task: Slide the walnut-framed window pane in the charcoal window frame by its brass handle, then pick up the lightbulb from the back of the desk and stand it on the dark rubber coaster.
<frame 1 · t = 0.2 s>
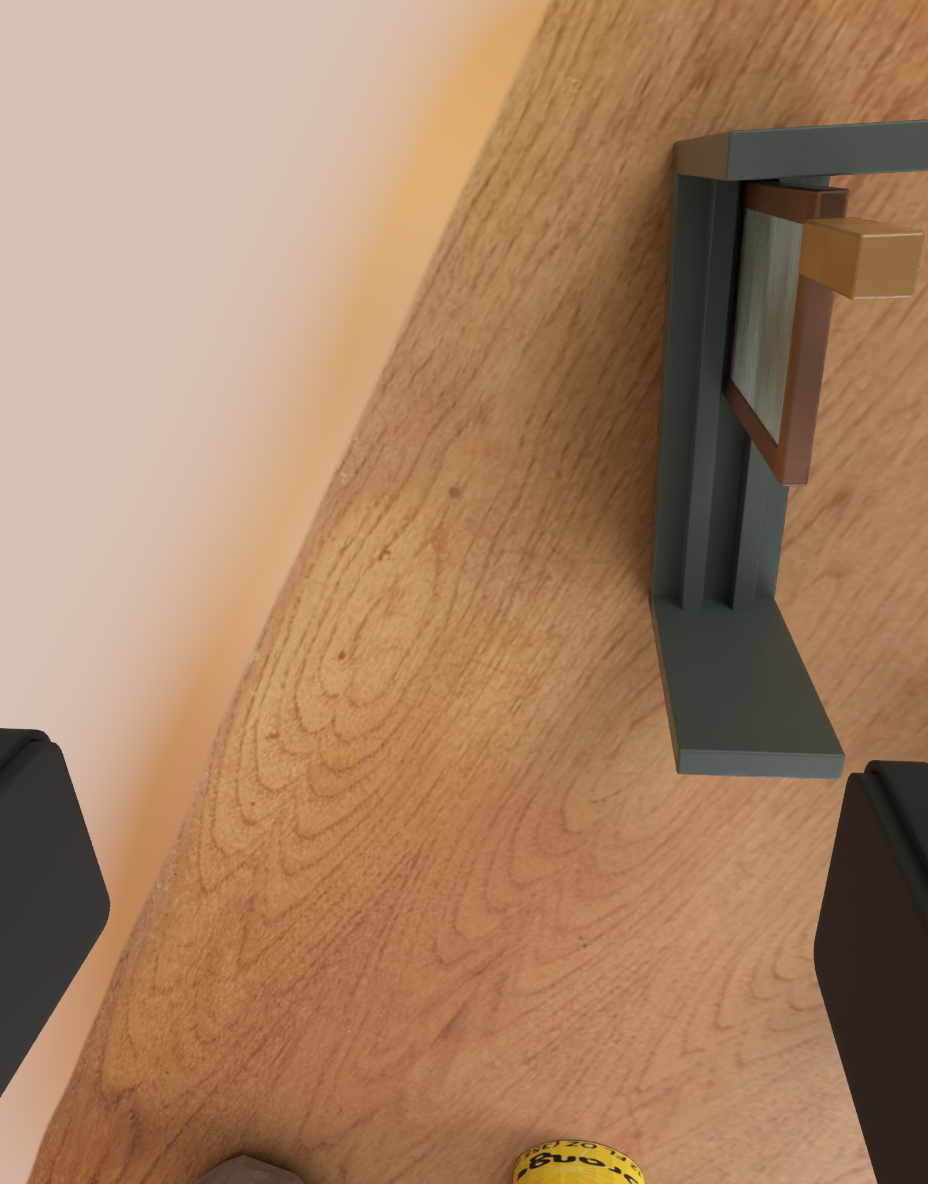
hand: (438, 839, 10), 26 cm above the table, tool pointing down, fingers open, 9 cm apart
window frame: (724, 398, 33), on the table
beverage can: (578, 1176, 58), on the table
window sash: (787, 330, 23), point 9 cm above the table, slide at 0.0 cm
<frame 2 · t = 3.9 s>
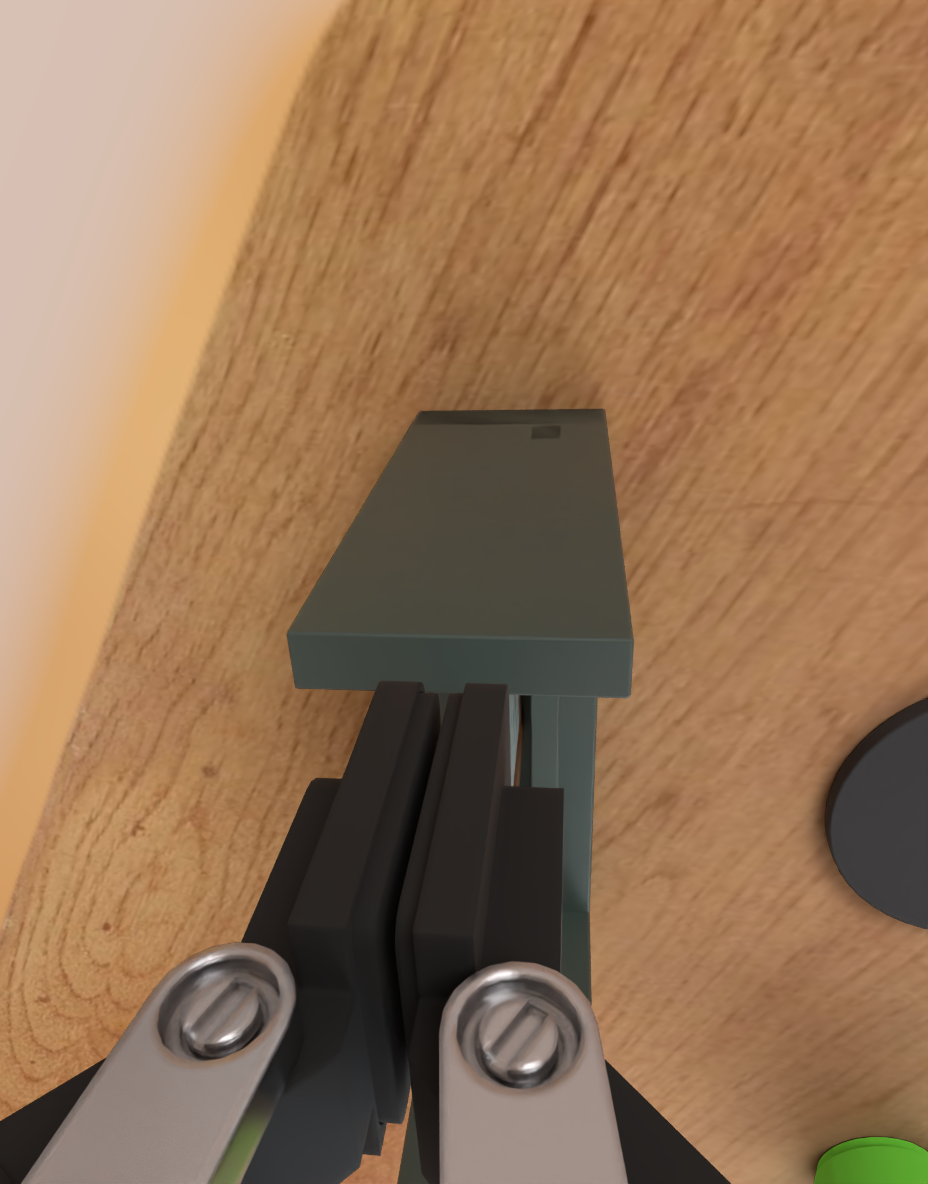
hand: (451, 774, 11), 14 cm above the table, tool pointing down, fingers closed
window frame: (515, 690, 27), on the table
window sash: (487, 800, 17), point 9 cm above the table, slide at 0.9 cm, touching gripper
cup: (874, 1166, 36), on the table
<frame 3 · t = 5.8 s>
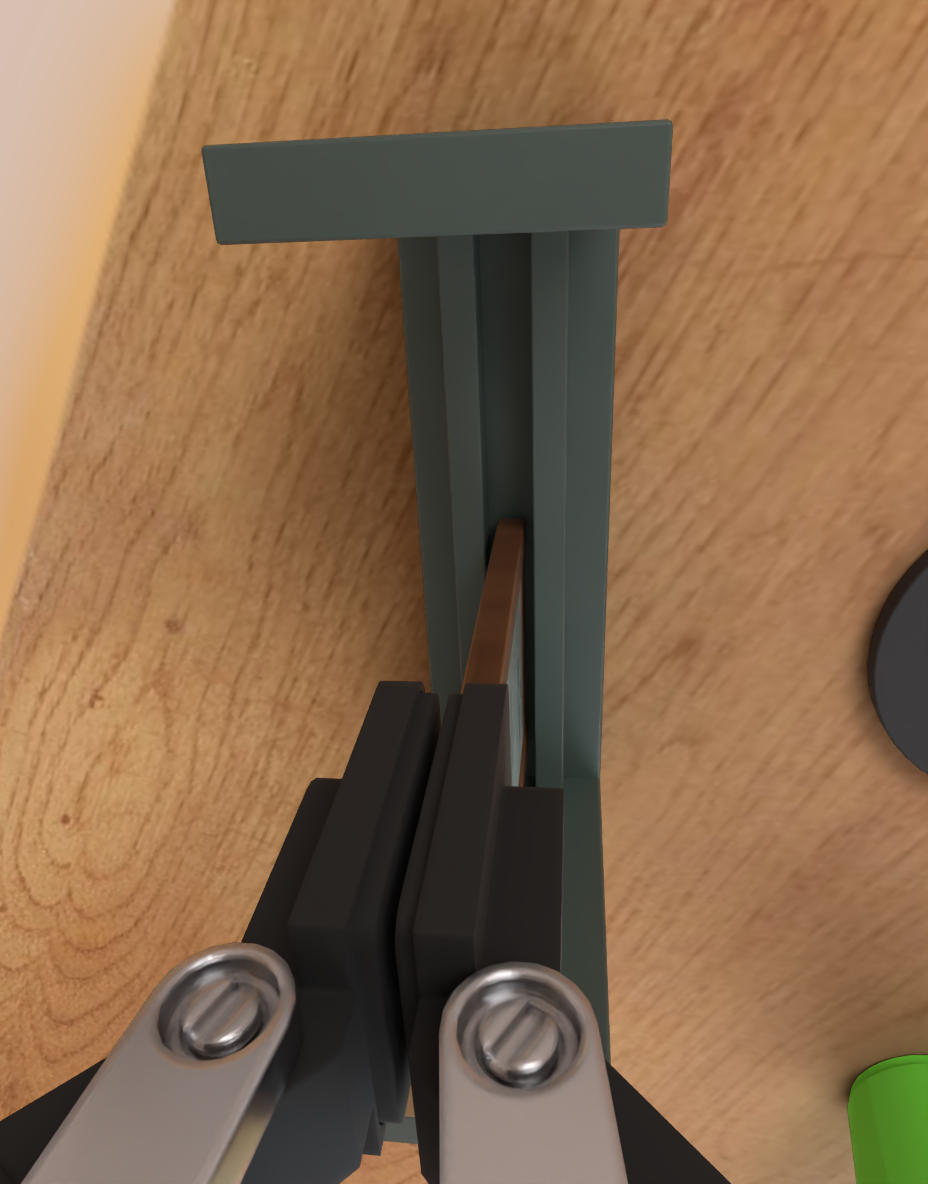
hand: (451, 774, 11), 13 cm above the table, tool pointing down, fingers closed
window frame: (515, 512, 23), on the table
window sash: (491, 816, 17), point 9 cm above the table, slide at 7.2 cm, touching gripper
cup: (914, 1090, 33), on the table
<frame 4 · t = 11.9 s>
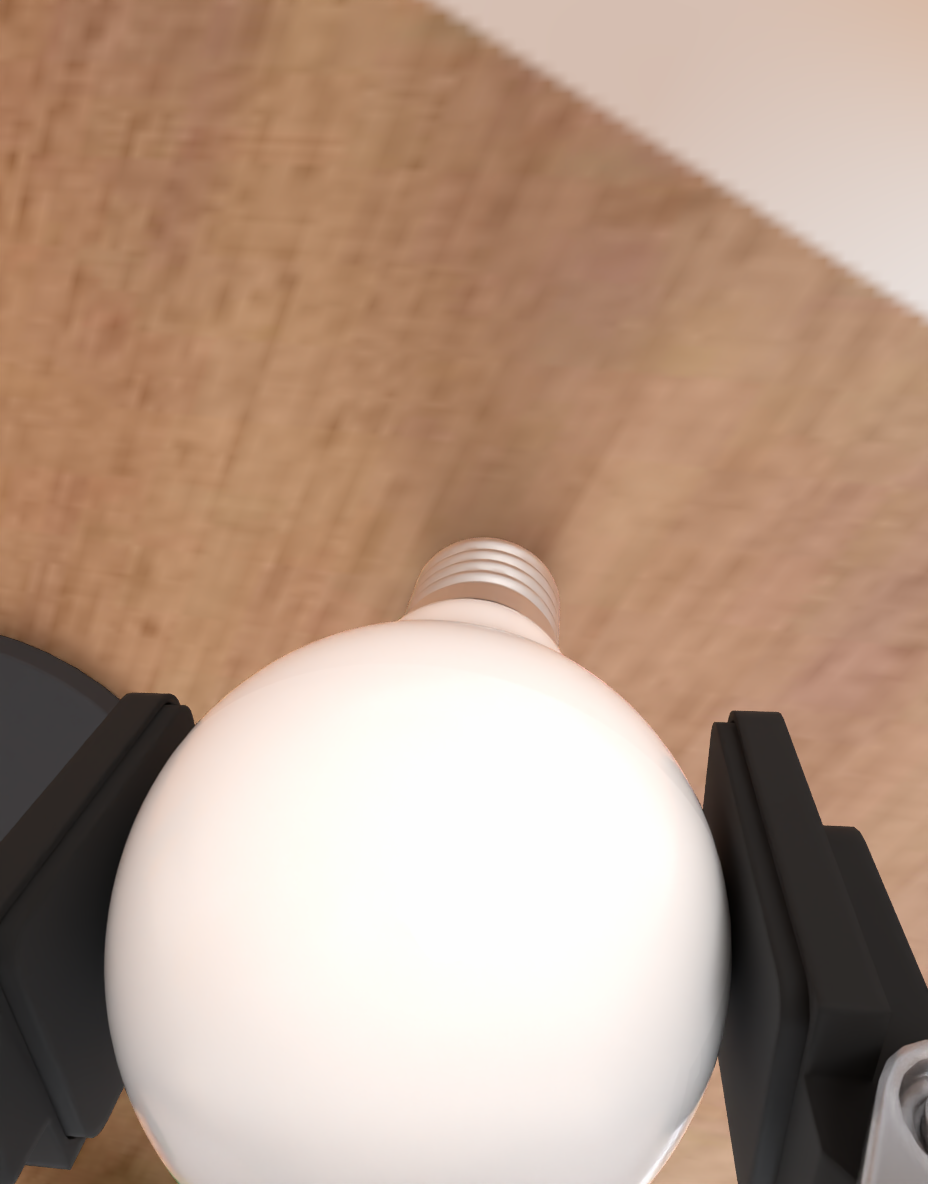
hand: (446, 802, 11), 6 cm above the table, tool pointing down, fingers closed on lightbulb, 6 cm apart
lightbulb: (490, 583, 16), on the table, touching gripper
coaster: (0, 804, 20), on the table
when the fingers open (7 cm above the table, at t = 18.7 s): lightbulb stays where it is, resting on coaster.
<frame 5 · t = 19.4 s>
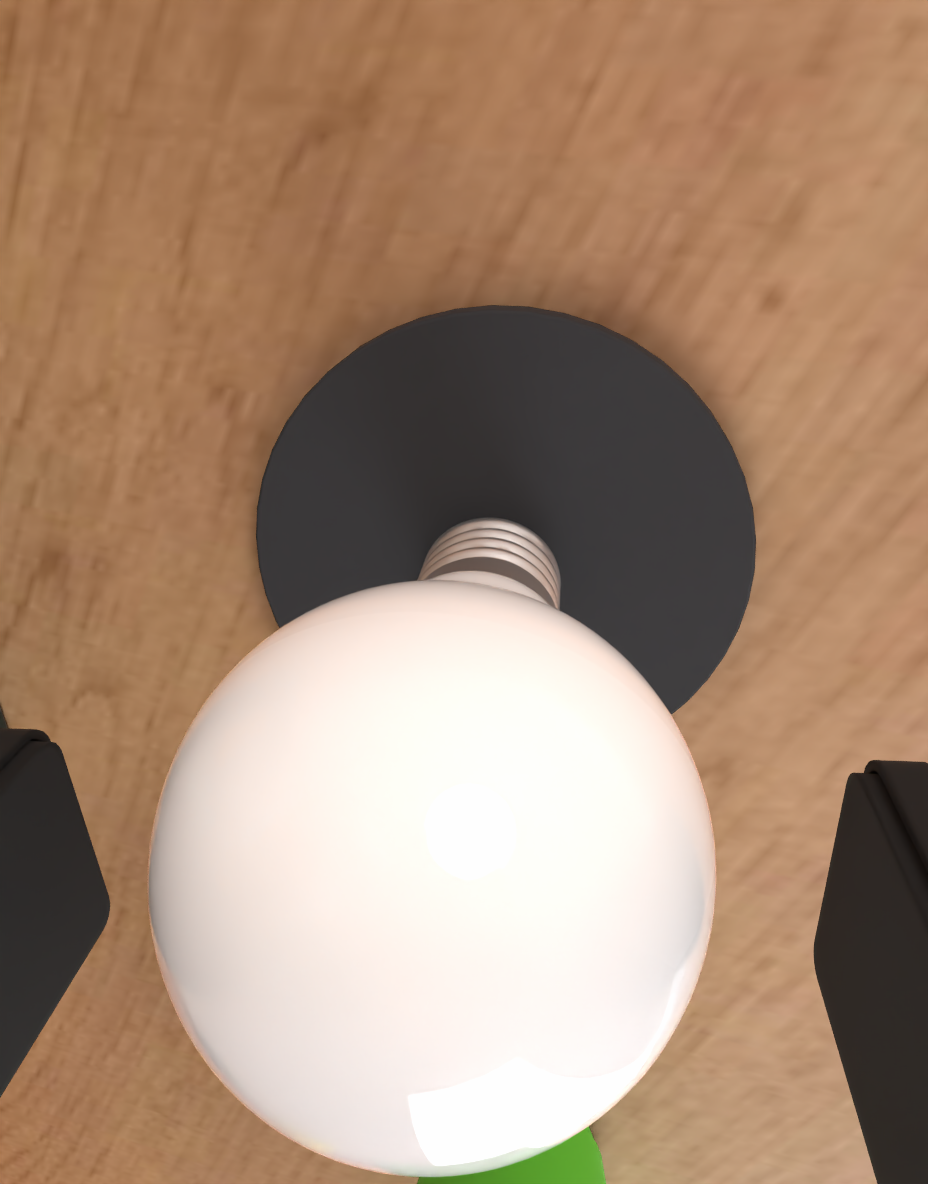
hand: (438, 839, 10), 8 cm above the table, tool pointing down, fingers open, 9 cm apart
lightbulb: (494, 563, 17), resting on coaster
coaster: (499, 557, 17), on the table
cup: (516, 1131, 27), on the table
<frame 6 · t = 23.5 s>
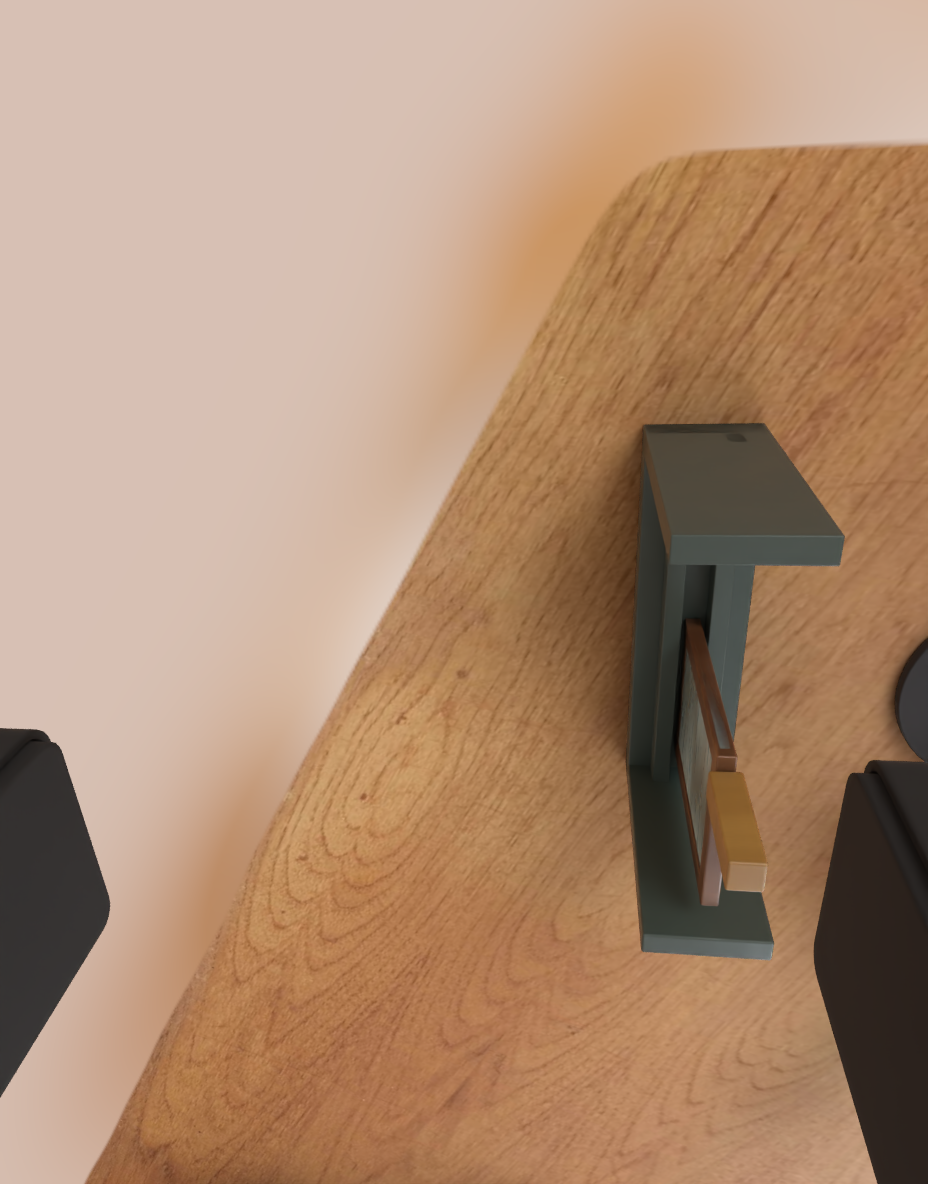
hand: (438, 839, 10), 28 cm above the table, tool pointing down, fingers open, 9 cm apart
window frame: (687, 611, 40), on the table
window sash: (707, 785, 33), point 9 cm above the table, slide at 7.2 cm
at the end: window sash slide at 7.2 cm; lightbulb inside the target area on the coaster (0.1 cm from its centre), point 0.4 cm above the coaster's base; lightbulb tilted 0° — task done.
